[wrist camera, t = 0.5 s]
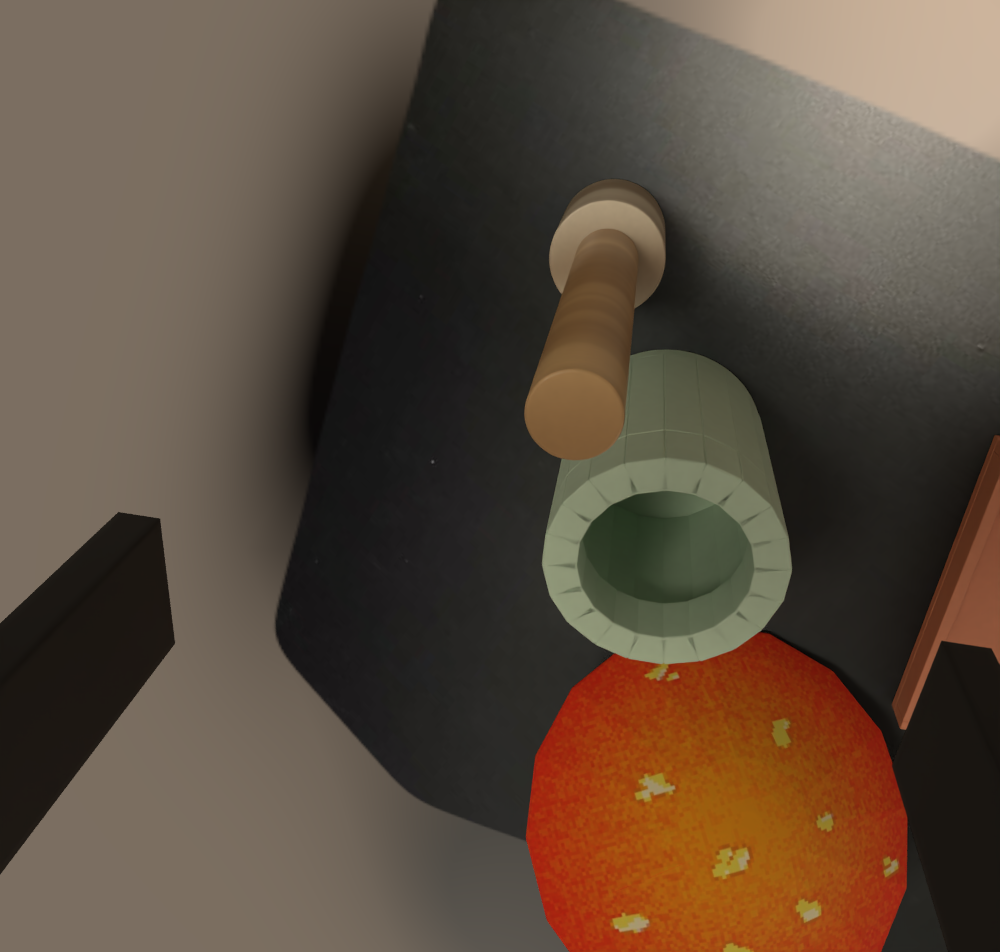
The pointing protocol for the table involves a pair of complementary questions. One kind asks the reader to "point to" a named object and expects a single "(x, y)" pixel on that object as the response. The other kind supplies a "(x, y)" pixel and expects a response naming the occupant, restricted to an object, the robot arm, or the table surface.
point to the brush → (595, 317)
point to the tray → (962, 589)
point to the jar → (671, 520)
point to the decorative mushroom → (717, 809)
